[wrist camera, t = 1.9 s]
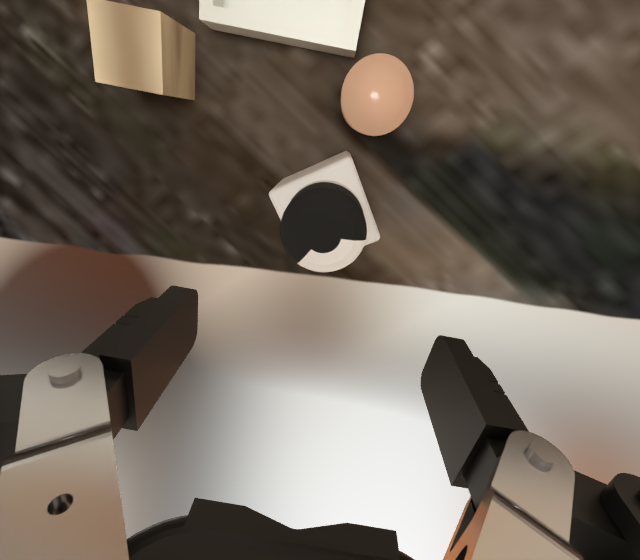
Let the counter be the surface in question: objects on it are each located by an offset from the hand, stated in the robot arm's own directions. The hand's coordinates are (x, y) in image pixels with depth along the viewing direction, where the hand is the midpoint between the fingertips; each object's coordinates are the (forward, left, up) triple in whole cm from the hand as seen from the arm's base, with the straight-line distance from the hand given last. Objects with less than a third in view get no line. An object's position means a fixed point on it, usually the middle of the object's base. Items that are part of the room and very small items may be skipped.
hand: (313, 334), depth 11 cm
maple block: (-16, +9, -24) cm, 30 cm away
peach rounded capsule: (+2, +9, -24) cm, 26 cm away
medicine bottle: (0, 0, -24) cm, 24 cm away
